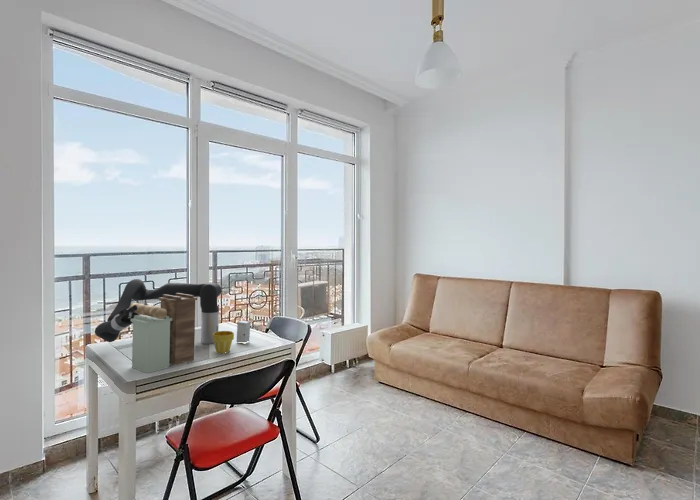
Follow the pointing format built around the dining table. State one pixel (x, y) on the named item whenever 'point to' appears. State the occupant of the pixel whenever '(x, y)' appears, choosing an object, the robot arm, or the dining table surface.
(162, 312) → the tan roll
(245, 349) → the dining table surface
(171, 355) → the walnut tub
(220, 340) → the plant pot
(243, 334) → the skincare box
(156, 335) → the pale green lidded tub
